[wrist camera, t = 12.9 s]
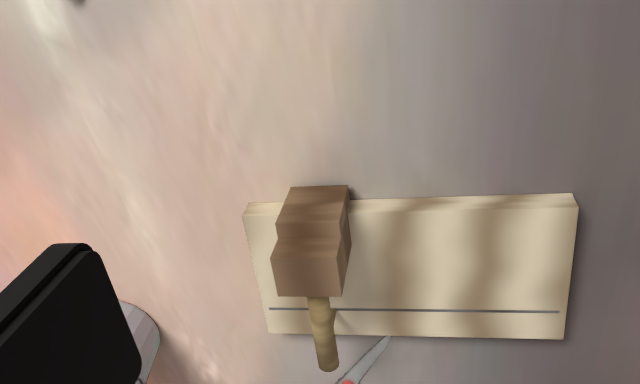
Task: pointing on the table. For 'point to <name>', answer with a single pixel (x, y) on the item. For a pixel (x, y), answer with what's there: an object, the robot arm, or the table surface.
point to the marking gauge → (314, 258)
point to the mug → (142, 337)
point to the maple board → (438, 267)
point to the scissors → (364, 363)
